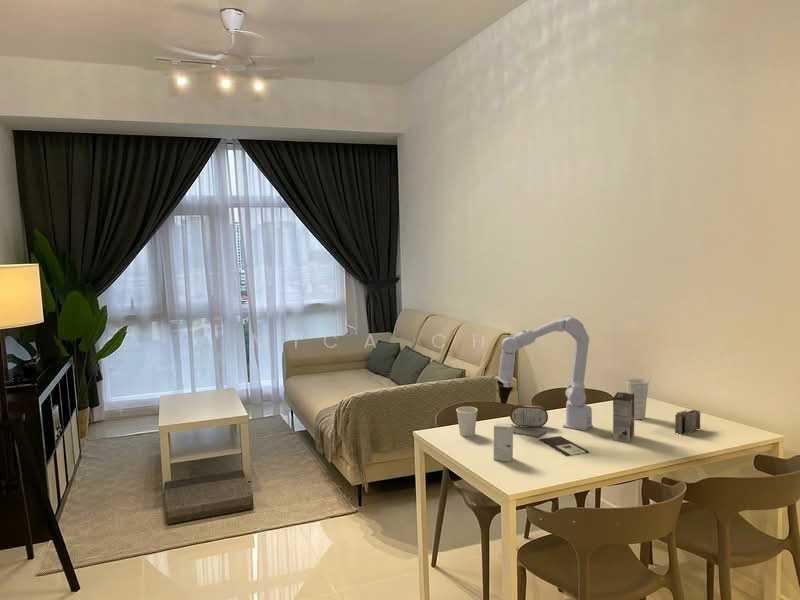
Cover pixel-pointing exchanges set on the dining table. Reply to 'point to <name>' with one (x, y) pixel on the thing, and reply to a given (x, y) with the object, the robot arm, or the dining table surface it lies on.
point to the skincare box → (503, 441)
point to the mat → (527, 431)
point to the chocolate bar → (564, 446)
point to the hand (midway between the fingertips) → (502, 400)
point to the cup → (638, 396)
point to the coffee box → (623, 416)
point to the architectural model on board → (687, 421)
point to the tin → (529, 415)
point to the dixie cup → (467, 420)
